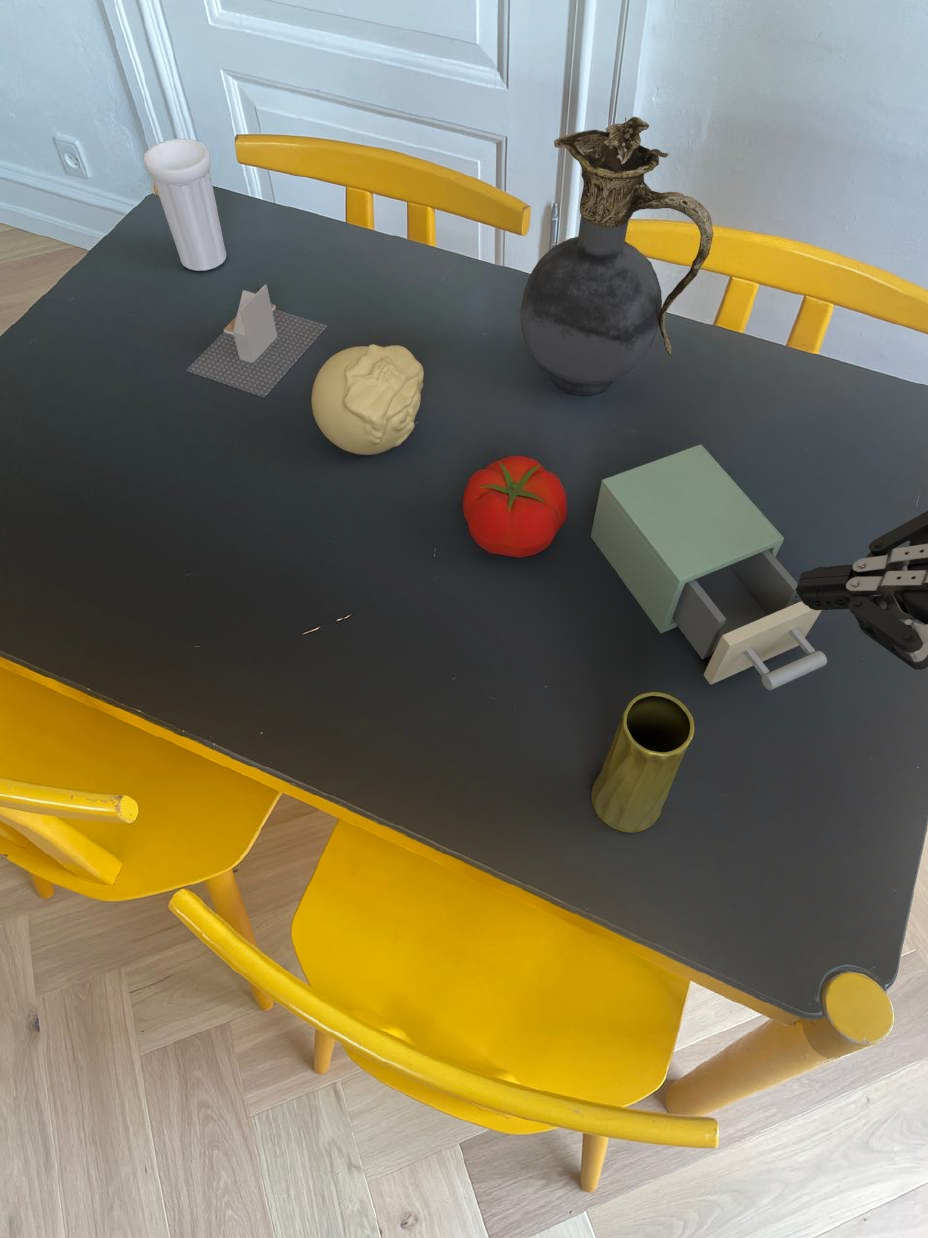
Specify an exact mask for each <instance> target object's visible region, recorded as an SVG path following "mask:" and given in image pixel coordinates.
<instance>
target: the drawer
mask: <svg viewBox="0 0 928 1238" xmlns="http://www.w3.org/2000/svg"><path fill="white" fill-rule="evenodd" d="M797 585H798V581H796V580H795V578H794V577H793V576H792V575H791V574H790V573H789V571H788V570H787V569H786V568H785V566H784V565H783V564H781V562H780V561H779V560H778V559H777V557H774V555H773V554H772V553H771V552H770V551H769V550H765V551H763V552H760V553H758V554H756V555H753V556H751V557H748V558H746V559H743V560H741V561H738V562H736V563H733V564H731V565H729V566H726V567H724V568H721V569H719V570H716V571H714V572H711V573H709V574H706V575H704V576H701V577H699V578H697V579H694V580H692V581H689V582H687V583H685V585H684V587H683V590H682V593H681V595H680V598H679V601H678V603H677V606H676V609H675V611H674V614H673V617H672V619H673V621H674V622H675V623H676V625H677V626H678V627H677V628H678V629H679V630H680V631H681V633H682V634H683V636H684V637H685V638H686V640H687V641H688V642H689V644H690V645H691V646H692V647H693V649H694V650H695V652H696V653H697V654H698V655H699V658H700V659H701V660H704V659H706V658H709V657H711V658H710V660H709V662H708V664H707V666H706V667H705V668H706V669H705V670H704V673H703V677H704V678H705V679H706V681H707V683H709V685H711V686H712V685H715V684H716V683H718V682H720V681H723V680H725V679H727V678H729V677H731V676H734V675H736V674H739V673H740V672H742V671H745V670H747V669H749V668H751V667H754V669H755V670H756V671H757V672H758V673H759V675H760V676H761V683H762V686H763V687H764V688H765V689H766V690H768V691H772V690H774V689H776V688H779V687H780V686H783V685H785V684H788V683H789V682H792V681H795V680H796V679H798V678H800V677H803V676H805V675H807V674H809V673H812V672H814V671H816V670H818V669H821V668H822V667H824V666H826V665H827V663H828V659H827V656H826V655H825V654H824V653H825V652H822V651H820V650H817V651H816V650H815V648H814V647H813V646H812V645H811V644H810V642H809V641H808V640H807V639H806V637H807V635H808V633H809V632H810V631H811V629H812V627H813V625H814V624H815V622H816V621H817V620H818V618H819V616H820V614H821V612H822V611H823V610H813V609H810V608H809V607H808V606H806V605H805V604H804V603H803V602H802V600H801V601H798V602H796V603H794V601H795V599H796V597H797V596H798V594H797V592H796V587H797ZM797 647H800V648H801V650H802V651H803V652H804V653H805V654H806V656H804V657H801V658H799V659H796V660H794V661H792V662H790V663H788V664H785V665H784V666H783V665H782V666H781V667H779V668H777V669H775V670H772V671H770V670H769V668H768V667H767V666H766V665H765V663H764V662H765V661H768V660H770V659H772V658H774V657H776V656H779V655H781V654H783V653H785V652H787V651H790V650H792V649H794V648H797Z"/></svg>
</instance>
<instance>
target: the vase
mask: <svg viewBox="0 0 928 1238" xmlns="http://www.w3.org/2000/svg"><path fill="white" fill-rule="evenodd" d="M694 736H695V720H694V718H693V715H692V713H691V711H690V710H689V709H688V707H687V706H686V705H685V704H684V703H683V702H681V701H680V700H679V699H678V698H676V697H674V696H672V695H671V694H668V693H665V692H658V691H652V692H646V693H641V694H639V695H637V696H635V697H634V698H632V699H631V701H630V702H629V703H628V705H627V706H626V708H625V709H624V711H623V712H622V716H621V718H620V720H619V723H618V726H617V729H616V731H615V734H614V738H613V740H612V744H611V745H610V748H609V751H608V753H607V756H606V757H605V759H604V762H603V764H602V768H601V771H600V773H599V774H598V775H597V777H596V779H595V781H594V783H593V785H592V787H591V795H590V796H591V804H592V806H593V810H594V811H595V813H596V814H597V816H598V817H599V818H600V820H601V821H602V822H603V823H605V824H606V825H607V826H609V827H611V828H612V829H613V830H616V831H618V832H622V833H629V834H630V833H639V832H643V831H645V830H648V829H650V827H652V826H654V824H655V823H656V822H657V821H658V819H659V817H660V816H661V814H662V810H663V807H664V804H665V802H666V800H667V798H668V796H669V793H670V791H671V788H672V785H673V782H674V780H675V777H676V775H677V772H678V770H679V768H680V766H681V763H682V760H683V758H684V756H685V754H686V751H687V749H688V747H689V745H690V743H692V739H693V738H694Z"/></svg>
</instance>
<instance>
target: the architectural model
mask: <svg viewBox="0 0 928 1238" xmlns="http://www.w3.org/2000/svg"><path fill="white" fill-rule="evenodd" d="M327 328H328V325H326V324H323V323H321V322H317V321H313V320H310V319H308V318H305V317H302V316H298V315H294V314H291V313H288V312H285V311H282V310H279V309H277V307H276V304H273V303H271V298H270V293H269V289H268V284H264V285H263V286H261V288H260V287H258V288H257V292H256V293H255V292H251V291H249V290H245V289H243V290H242V293H241V297H240V302H239V305H238V309H237V313H236V316H235V317H234V318H233V319H232V320H231V321H230V322H229V323H228V324H227V325H226V326H225V327H224V328H223V332H222V333H221V334H220V335H219V336H218V337H217V338H216V339H215V341H214V342H212V343H211V344H210V345H209V346H208V348H206V349H205V350H204V351H203V353H202V354H200V356H198V358H197V359H196V360H195V361H194V362H193V363H192V364H190V366H189V367H188V368H187V369H186V370H185V371H186V372H189V373H191V374H193V375H197V376H199V377H203V378H206V379H209V380H213V381H215V382H217V383H221V384H223V385H225V386H229V387H232V388H235V389H238V390H240V391H244V392H247V393H249V394H252V395H255V396H259V397H261V398H264V399H265V398H266V397H267V395H269V393H271V391H272V390H273V389H274V388H275V386H276V385H277V384H278V383H279V382H280V381H281V380H282V379H283V377H284V376H286V375H287V373H288V372H289V370H291V368H292V367H293V366H294V365H296V363H297V361H299V359H301V358H302V356H303V355H304V354H305V353H306V351H307V350H308V349H310V347H311V346H312V344H314V343H315V341H316V340H317V339H318V338H319V337H320V336H321V334H322V333H323V332H324V331H325V330H326V329H327Z"/></svg>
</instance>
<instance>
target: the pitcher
mask: <svg viewBox="0 0 928 1238" xmlns="http://www.w3.org/2000/svg"><path fill="white" fill-rule="evenodd" d="M624 120H625V122H623V123H613V124H611V125H609V126H608V127H605V131H603V130H600V129H589V130H581V131H577V132H572V133H569V134H565V135H561V136H559V137H558V138H556V139H554V141H553V145H554V148H557V149H558V148H564V149H566V150H567V151H568V152H569V154H570V155H571V156H572V158H573V159H575V160H576V161H577V162H578V163H579V166H580V168H581V174H580V175H581V178H582V180H583V181H582V183H583V186H582V192H581V196H580V200H579V214H580V220H579V227H578V228H579V229H578V236H575V237H570V238H568V239H566V240H563V241H561V242H560V243H557V244H555V246H552V248H551V249H549V250H548V251H547V252H546V253H545V254H544V255H543V256H542V257H541V258H540V259H538V261H537V263H536V264H535V266H534V268H533V269H532V271H531V273H530V275H529V276H528V279H527V281H526V284H525V286H524V289H523V294H522V298H521V304H520V308H519V311H520V312H519V315H520V329H521V334H522V339H523V341H524V343H525V345H526V347H527V349H528V352H529V354H530V356H531V358H532V359H533V360H534V361H535V362H536V363H537V364H538V365H539V366H541V367H542V368H544V370H547V373H548V376H549V378H550V381H551V382H552V383H553V385H555V386H556V387H557V388H558V389H560V390H562V391H563V392H565V393H568V394H571V395H578V396H582V397H585V396H586V397H587V396H596V395H599V394H602V393H604V392H605V391H606V390H607V389H608V388H609V387H610V386H611V385H612V384H613V381H615V380H618V379H619V378H621V377H623V376H625V375H626V374H628V373H629V372H630V371H632V370H633V369H634V368H635V367H636V366H637V365H638V364H639V363H640V362H641V361H642V360H643V359H644V357H645V356H646V354H647V353H648V351H649V350H650V348H651V346H652V345H653V343H654V340H655V337H656V335H657V332H658V329H659V331H660V335H661V337H662V338H663V341H664V343H663V346H664V347H665V351H666V353H667V354H668V355H669V357H671V358H672V357H673V347H672V345H671V342H670V340H671V337H669V335H668V334H667V329H666V314H667V312H668V310H669V308H670V306H672V303H674V301H675V300H676V299H677V297H678V296H679V295H681V294H682V293H683V291H684V290H685V289H686V288H687V287H688V286H689V285H690V284H691V283H692V282H693V280H694V279H695V278H696V277H697V275H698V273H699V271H700V270H701V269H702V266H703V265H704V263H705V262H706V260H707V259H708V257H709V255H710V253H711V249H712V244H713V237H714V229H713V224H712V223H713V221H712V217H711V215H710V212H709V211H708V210H707V209H706V207H705V206H704V205H703V204H702V203H701V202H699V200H697V199H696V198H693V197H691V196H689V195H685V194H684V193H681V192H679V191H666V192H665V191H664V192H660V191H655V190H652V189H651V188H650V187H649V185H648V184H647V183H646V182H645V175H646V174H647V173H649V172H651V171H653V170H654V169H655V168H656V167H658V166H659V165H660V158H667V157H669V156H670V153H669V152H662V151H661V150H660V149H658V148H652V149H650V148H649V147H645V146H643V145H641V142H642V138H641V135H640V134H641V133H642V132H643V131H647V130H648V129H649V127H650V124H649V123H648V122H646V121H645V120H643V119H642V118H640V117H639V116H632V117H631V118H629V119H627V117H626V116H625V117H624ZM662 209H671V210H675V211H677V212H680V213H682V214H683V215H685V216H686V217H688V218H689V219H690V220H692V221H693V223H694V224H695V225H696V226H697V229H698V232H699V235H700V236H699V237H700V238H699V239H700V240H699V247H698V249H697V254H696V256H695V258H693V261H692V263H691V266H690V269H689V270H688V272H687V273H686V275H685V276H684V277H683V278H681V280H680V281H679V282H678V283H677V284H676V286H675V287H674V288H673V289H672V291H671V292H670V293H668V295H667V296H666V298H665V300H664V302H663V297H662V288H661V284H660V281H659V278H658V275H657V273H656V270H655V269H654V267H653V264H652V262H651V261H650V260H649V258H647V257H646V256H645V255H644V254H643V253H642V252H641V251H640V250H639V249H638V248H637V247H635V246H634V245H632V244H630V243H629V242H627V241H626V237H627V231H628V225H629V221H630V219H631V218H632V217H633V215H634V213H636V212H638V211H641V210H662Z"/></svg>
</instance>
